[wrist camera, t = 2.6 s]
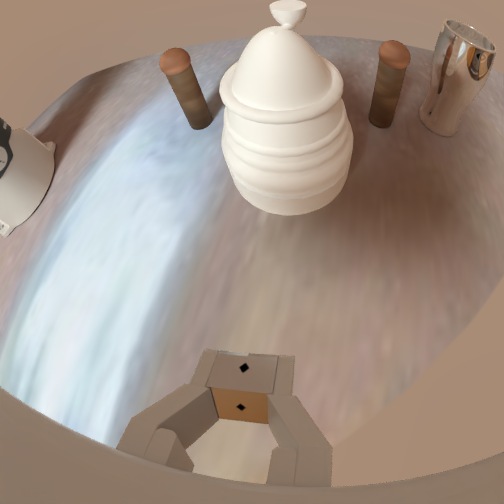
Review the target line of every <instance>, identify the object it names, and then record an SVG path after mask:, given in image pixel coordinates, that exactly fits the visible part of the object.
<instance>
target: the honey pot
mask: <svg viewBox="0 0 504 504" xmlns="http://www.w3.org/2000/svg"><path fill="white" fill-rule="evenodd" d="M306 9H307V7H306V3H304V2H302V1H298V0H280V1H276V2H273V3H271V4H270V10H271V13H272V15H273V17H274V18H275V20H276V21H277V22H278V23H280V24H281V25H282V26H273V27H268V28H266V29H263V30H261V31H260V32H259V33H257V34H256V35H255V36H254V37H253V38H252V39H251V40H250V41H249V43H248V44H247V46H246V48H245V49H244V51H243V53H242V55H241V57H240V59H239V61H238V62H236V63H234V64H233V65H232V66H231V67H230V68H229V69H228V70H227V71H226V72H225V74H224V76H223V78H222V80H221V81H220V89H219V93H220V96H221V99H222V102H223V103H224V104H225V105H226V107H225V111H224V129H223V131H222V150H223V153H224V157H225V160H226V162H227V165H228V167H229V170H230V173H231V175H232V178H233V180H234V183H235V185H236V187H237V189H238V190H239V192H240V193H241V195H242V196H243V197H244V198H245V199H246V200H247V201H249V202H250V203H251V204H252V205H254V206H255V207H257V208H260V209H262V210H264V211H267V212H269V213H274V214H280V215H301V214H305V213H309V212H312V211H315V210H318V209H320V208H322V207H323V206H325V205H327V204H328V203H330V202H331V201H332V200H333V199H334V198H335V197H336V196H337V195H338V194H339V193H340V192H341V190H342V188H343V186H344V184H345V182H346V180H347V175H348V171H349V166H350V161H351V155H352V152H353V140H354V138H353V132H352V128H351V125H350V122H349V120H348V117H347V114H346V108H345V105H344V102H343V100H342V98H341V96H342V93H343V85H344V83H343V79H342V77H341V74H340V72H339V71H338V70H337V68H336V67H335V66H334V65H333V64H332V63H331V62H329V61H328V60H326V59H325V58H323V57H322V56H319V55H318V54H317V53H316V51H315V50H314V49H313V48H312V47H311V45H310V44H309V43H308V42H307V41H306V40H305V39H304V38H303V37H301V36H300V35H299V34H297V33H296V32H294V31H292V29H293V28H295V27H296V26H297V25H298V24H299V23H301V22H302V20H303V19H304V17H305V14H306Z"/></svg>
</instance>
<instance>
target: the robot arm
mask: <svg viewBox="0 0 504 504" xmlns="http://www.w3.org/2000/svg"><path fill="white" fill-rule="evenodd" d="M55 147H56V144H55V143H54V142H52V141H50V142H46V143H41V142H40V141H39V140H38V139H37V138H35V137H34V136H33V135H32V134H31V133H29V132H28V131H27V130H26V129H24V128H21V129H20V128H19V129H16V130H11V127H10V126H9V125H8V124H7V123H6V122H5V121H4V120H3V119H1V118H0V233H1V235H2V236H4V237H7V236H8V235H9V234H10V233H11V231H12V230H13V229H14V228H15V227H16V226H18V225H20V224H21V223H23V222H24V221H25V220H26V219H27V218H29V216H30V215H31V214H32V213H33V212H34V211H35V209H36V208H37V206H38V205H39V204H40V202H41V200H42V199H43V197H44V195H45V193H46V191H47V189H48V187H49V185H50V182H51V179H52V176H53V172H54V151H55ZM294 362H295V356H286V355H266V354H250V353H249V354H246V353H237V352H229V351H221V350H220V351H219V350H212V349H205V350H204V351H203V352H202V354H201V357H200V359H199V362H198V364H197V366H196V369H195V371H194V373H193V376H192V378H191V381H190V383H189V384H184V385H182V386H181V387H179V388H178V389H176V390H175V391H173V392H172V393H170V394H169V395H167V396H166V397H164V398H163V399H161V400H159V401H158V402H156V403H155V404H153V405H152V406H150V407H149V408H147V409H145V410H144V411H142V412H141V413H139V414H137V415H136V416H134V417H132V418H131V420H130V422H129V424H128V426H127V428H126V430H125V432H124V434H123V436H122V438H121V439H120V441H119V443H118V445H117V447H116V449H115V448H112V447H110V446H107V445H105V444H102V443H100V442H98V441H95V440H93V439H91V438H89V437H86V436H84V435H82V434H80V433H78V432H76V431H74V430H72V429H70V428H68V427H66V426H64V425H62V424H60V423H58V422H56V421H54V420H53V419H51V418H49V417H47V416H45V415H44V414H42V413H40V412H39V411H37V410H35V409H34V408H32V407H30V406H29V405H27V404H25V403H24V402H22V401H21V400H19V399H18V398H16V397H15V396H13V395H12V394H10V393H9V392H7V391H6V390H4V389H3V388H2V387H0V504H504V452H502V453H500V454H497V455H494V456H492V457H489V458H486V459H484V460H481V461H478V462H475V463H472V464H469V465H465V466H462V467H459V468H455V469H452V470H448V471H444V472H440V473H436V474H431V475H427V476H422V477H417V478H412V479H406V480H400V481H394V482H386V483H379V484H369V485H358V486H340V487H331V476H332V447H331V445H330V444H329V442H328V441H327V440H326V438H325V437H324V435H323V434H322V433H321V431H320V430H319V428H318V427H317V425H316V424H315V423H314V421H313V420H312V418H311V417H310V415H309V414H308V413H307V411H306V410H305V408H304V407H303V405H302V404H301V402H300V401H299V400H298V398H297V397H296V396H292V393H293V378H294ZM218 418H219V419H227V420H236V421H245V422H253V423H261V424H269V427H270V429H271V431H272V433H273V435H274V437H275V439H276V441H277V443H278V445H279V447H277V448H275V449H274V450H272V455H271V461H270V466H269V472H268V477H267V482H266V484H257V483H248V482H241V481H234V480H228V479H222V478H216V477H211V476H206V475H201V474H197V473H192V471H193V467H194V464H193V462H192V461H191V459H190V457H189V456H188V454H187V452H186V451H185V450H186V449H187V448H188V447H189V446H190V445H192V444H193V443H194V442H195V441H196V440H197V439H198V438H200V437H201V436H202V435H203V434H204V433H205V432H206V431H207V430H208V429H209V428H211V427H212V426H213V425H214V424H215V423H216V422H217V421H218V420H219V419H218Z"/></svg>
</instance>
